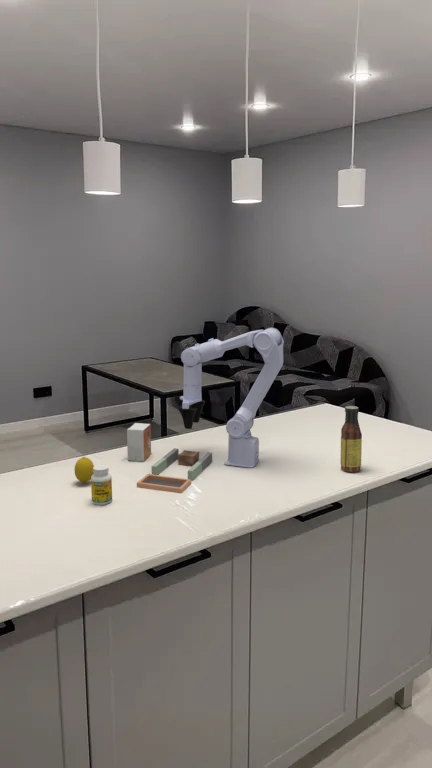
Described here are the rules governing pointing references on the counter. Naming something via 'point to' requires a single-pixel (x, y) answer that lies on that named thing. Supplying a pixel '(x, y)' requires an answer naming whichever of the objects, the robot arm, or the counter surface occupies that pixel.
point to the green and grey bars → (173, 455)
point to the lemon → (84, 469)
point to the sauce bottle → (351, 441)
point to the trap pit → (164, 483)
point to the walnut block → (188, 458)
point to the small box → (139, 442)
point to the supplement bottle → (101, 485)
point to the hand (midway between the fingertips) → (191, 425)
